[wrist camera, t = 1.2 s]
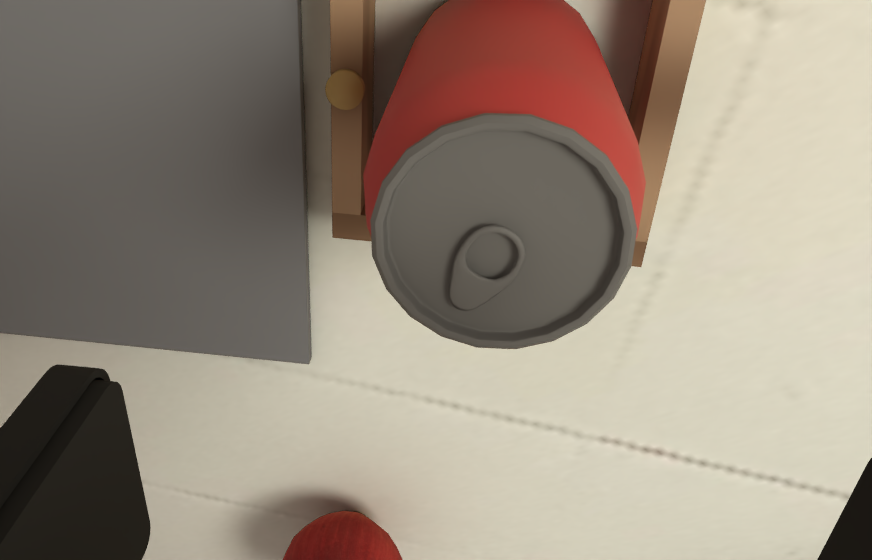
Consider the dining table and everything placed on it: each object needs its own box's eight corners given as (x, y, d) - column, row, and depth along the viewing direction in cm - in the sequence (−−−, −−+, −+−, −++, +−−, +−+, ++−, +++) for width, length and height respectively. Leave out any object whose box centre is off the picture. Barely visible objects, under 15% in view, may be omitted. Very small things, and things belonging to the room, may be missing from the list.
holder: (631, 233, 28) (642, 272, 26) (342, 206, 29) (327, 242, 26) (703, -85, 23) (728, -74, 20) (342, -114, 23) (322, -107, 21)
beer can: (377, 115, 27) (299, 294, 17) (463, -63, 24) (431, 25, 13) (536, 196, 28) (553, 410, 18) (639, 37, 25) (732, 188, 14)
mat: (311, 357, 33) (308, 364, 32) (-86, 317, 33) (-93, 323, 33) (293, -256, 21) (288, -258, 21) (-313, -300, 22) (-330, -303, 21)
